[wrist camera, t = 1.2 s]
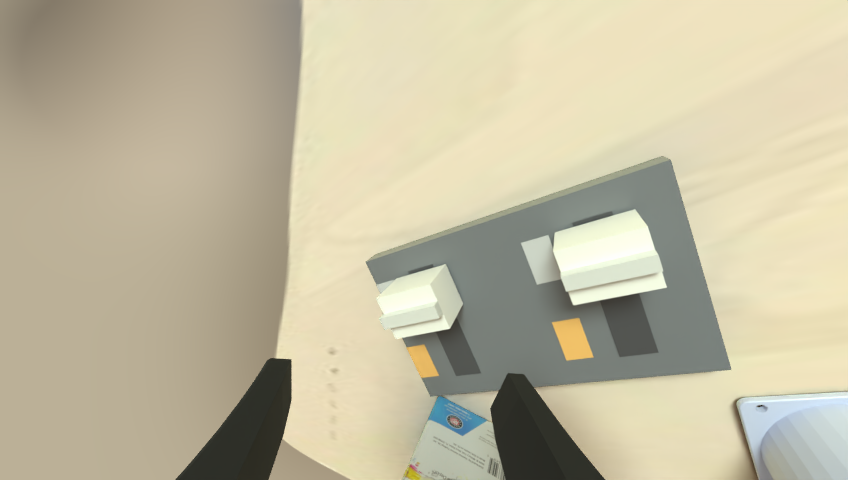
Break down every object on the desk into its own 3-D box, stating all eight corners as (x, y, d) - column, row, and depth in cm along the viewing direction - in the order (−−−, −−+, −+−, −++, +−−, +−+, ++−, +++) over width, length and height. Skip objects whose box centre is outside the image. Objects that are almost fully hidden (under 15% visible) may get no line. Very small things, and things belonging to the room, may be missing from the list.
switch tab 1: (445, 264, 22) (426, 289, 19) (463, 303, 23) (447, 334, 20) (396, 278, 24) (371, 303, 21) (413, 314, 25) (391, 344, 21)
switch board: (662, 156, 17) (670, 159, 16) (720, 352, 20) (731, 370, 18) (375, 254, 26) (365, 262, 25) (436, 383, 28) (430, 396, 27)
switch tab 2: (634, 209, 17) (651, 230, 14) (651, 261, 18) (670, 293, 15) (554, 232, 19) (552, 256, 16) (572, 279, 20) (573, 311, 16)
